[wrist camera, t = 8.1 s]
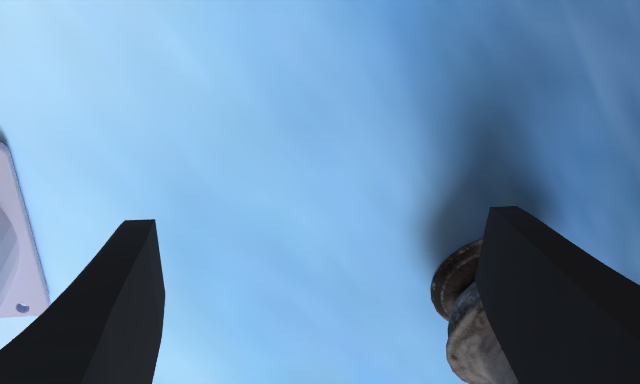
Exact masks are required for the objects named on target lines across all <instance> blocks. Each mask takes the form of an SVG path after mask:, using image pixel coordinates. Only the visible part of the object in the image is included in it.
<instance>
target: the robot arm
mask: <svg viewBox="0 0 640 384" xmlns="http://www.w3.org/2000/svg"><path fill="white" fill-rule="evenodd" d="M475 282H476V286H477V289H478V292H479V295H480V299H481V302H482V305H483V308H484V311H485V313H486V316H487V319H488V321H489V323H490V325H491V328H492V330H493V332H494V334H495V336H496V338H497V340H498V342H499V344H500V346H501V348H502V350H503V352H504V354H505V356H506V358H507V360H508V362H509V364H510V366H511V368H512V370H513V372H514V374H515V376H516V378H517V380H518V382H519V384H640V285H638V284H636V283H635V282H633V281H631V280H630V279H628V278H626V277H625V276H623V275H621V274H620V273H618V272H616V271H615V270H613V269H611V268H610V267H608V266H607V265H605V264H603V263H602V262H600V261H599V260H597V259H596V258H594V257H593V256H591V255H590V254H588V253H586V252H585V251H584V250H582V249H581V248H579V247H578V246H576V245H575V244H573V243H572V242H570V241H569V240H567V239H566V238H564V237H563V236H561V235H560V234H559V233H557V232H556V231H554V230H553V229H551V228H550V227H548V226H547V225H545V224H544V223H542V222H541V221H540V220H538V219H537V218H535V217H534V216H532V215H531V214H529V213H527V212H526V211H524V210H522V209H521V208H519V207H517V206H508V207H490V210H489V214H488V219H487V224H486V228H485V233H484V238H483V242H482V247H481V252H480V256H479V261H478V265H477V270H476V275H475ZM20 303H23V304H26V305H28V306H22V305H21V304H20ZM164 305H165V289H164V281H163V274H162V267H161V259H160V252H159V245H158V237H157V230H156V223H155V219H152V220H125V221H124V222H123V223H122V224H121V225H120V226H119V227H118V228H117V230H116V231H115V232H114V233H113V235H112V236H111V237H110V238H109V240H108V241H107V242H106V243H105V245H104V246H103V247H102V248H101V250H100V251H99V252H98V253H97V254H96V256H95V257H94V258H93V259H92V260H91V262H90V263H89V264H88V265H87V266H86V267H85V268H84V270H83V271H82V272H81V273H80V274H79V275H78V276H77V278H76V279H75V280H74V281H73V282H72V283H71V284H70V285H69V286H68V288H67V289H66V290H65V291H64V292H63V293H62V294H61V295H60V296H59V297H58V298H57V299H56V300H55V301H54V302H53V303H52V304H51V305H50V298H49V295H48V291H47V287H46V283H45V280H44V276H43V272H42V269H41V265H40V261H39V258H38V254H37V250H36V247H35V243H34V239H33V236H32V232H31V228H30V224H29V221H28V217H27V213H26V210H25V206H24V202H23V199H22V195H21V191H20V188H19V184H18V180H17V176H16V173H15V169H14V165H13V162H12V158H11V154H10V151H9V149H8V147H7V146H5V145H4V144H3V143H1V142H0V318H4V317H23V316H39V315H40V316H39V317H38V318H37V319H36V320H35V321H33V322H32V323H31V324H30V325H29V326H28V327H27V328H26V329H25V330H24V331H22V332H21V333H20V334H19V335H18V336H16V337H15V338H14V339H13V340H12V341H11V342H9V343H8V344H7V345H6V346H4V347H3V348H2V349H1V350H0V384H152V381H153V376H154V371H155V367H156V362H157V357H158V353H159V348H160V343H161V338H162V329H163V318H164Z"/></svg>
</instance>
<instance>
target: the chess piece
mask: <svg viewBox="0 0 640 384" xmlns="http://www.w3.org/2000/svg"><path fill="white" fill-rule="evenodd" d="M482 242H483V239H482V240H478V241H476V242H473V243H471V244H468V245H466V246H464V247H462V248H461V249H459V250H458V251H456V252H455V253H453V254H452V255H451V256H450V257H449V258H448V259H447V260H446V261H445V262H444V263H443V264H442V265H441V266H440V268H439V269H438V271H437V273H436V274H435V276H434V279H433V282H432V286H431V299H432V302H433V304H434V306H435V309H436V311H437V312H438V313H439V314H440V315H441V316H442V317H443V318H444V319H445V320H447V321H449V324H448V341H447V344H446V355H447V361H448V363H449V365H450V367H451V369H452V371H453V372H454V373H455V374H456V375H457V376H458V377H459V378H460V379H461V380H463V381H465V382H467V383H469V384H519V382H518V380H517V378H516V376H515V374H514V372H513V370H512V368H511V366H510V364H509V362H508V360H507V358H506V356H505V354H504V352H503V350H502V348H501V346H500V344H499V342H498V340H497V338H496V336H495V334H494V332H493V330H492V328H491V325H490V323H489V321H488V319H487V316H486V313H485V311H484V308H483V305H482V302H481V299H480V295H479V292H478V289H477V286H476V282H475V275H476V270H477V265H478V261H479V256H480V252H481V247H482Z"/></svg>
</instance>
